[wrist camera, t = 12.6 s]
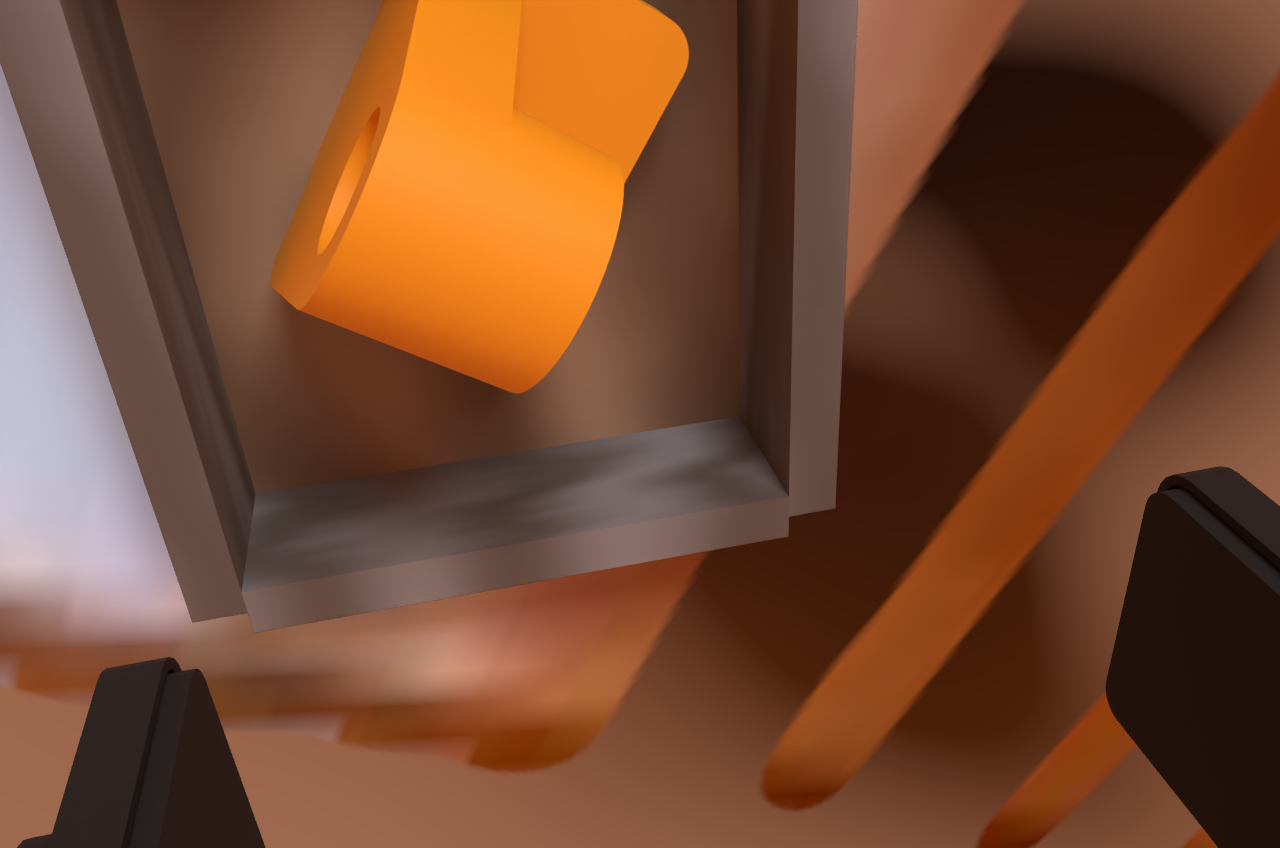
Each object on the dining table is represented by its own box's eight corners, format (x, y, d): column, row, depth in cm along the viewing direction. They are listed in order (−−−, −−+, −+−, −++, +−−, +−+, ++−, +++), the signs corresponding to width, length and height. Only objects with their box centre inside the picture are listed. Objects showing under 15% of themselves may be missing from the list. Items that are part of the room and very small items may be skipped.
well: (796, -378, 27) (900, -418, 22) (784, 439, 40) (849, 538, 34) (-66, -343, 24) (-183, -378, 19) (210, 534, 36) (185, 659, 31)
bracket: (506, 342, 34) (568, 577, 24) (276, 248, 31) (235, 471, 21) (677, 19, 30) (837, 135, 20) (436, -122, 27) (481, -68, 17)
